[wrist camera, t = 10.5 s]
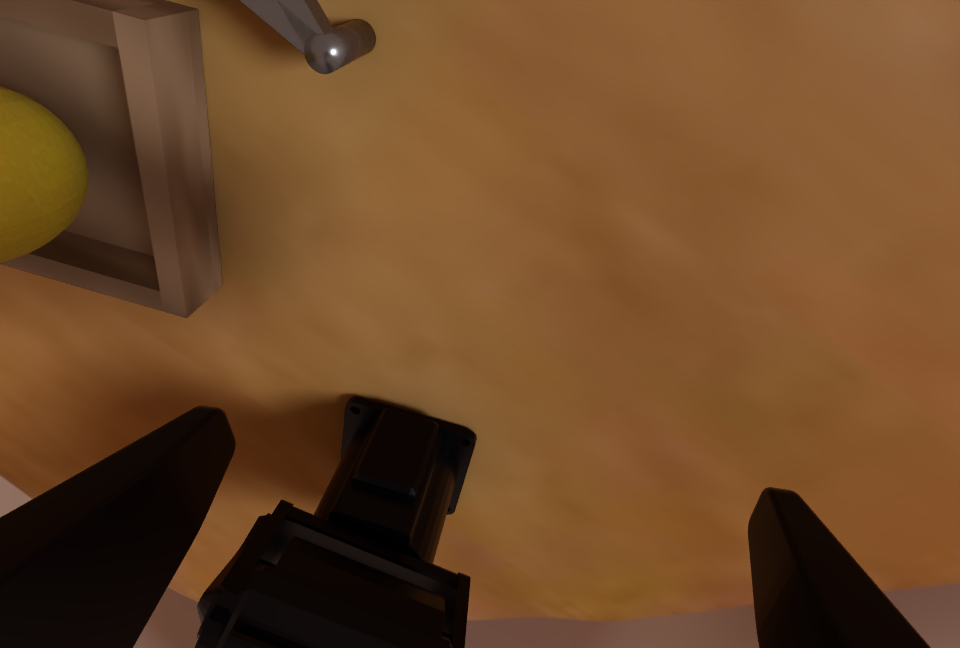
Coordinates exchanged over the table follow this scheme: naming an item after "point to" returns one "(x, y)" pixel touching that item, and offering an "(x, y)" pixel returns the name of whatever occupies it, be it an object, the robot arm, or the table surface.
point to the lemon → (36, 175)
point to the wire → (316, 32)
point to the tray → (124, 144)
